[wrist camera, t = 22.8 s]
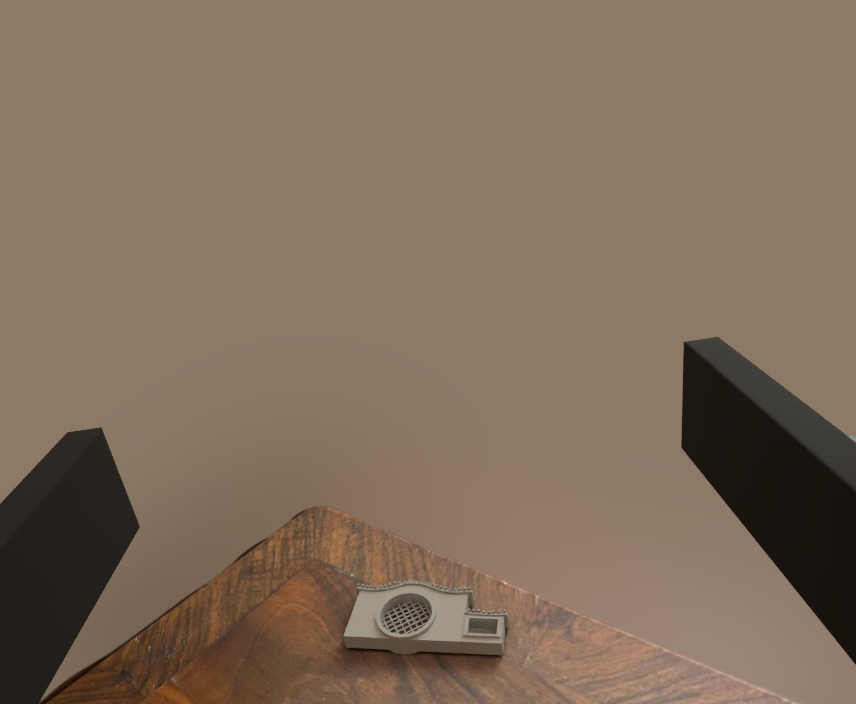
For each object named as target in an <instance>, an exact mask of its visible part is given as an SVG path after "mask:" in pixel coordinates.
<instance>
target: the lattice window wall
mask: <svg viewBox="0 0 856 704" xmlns="http://www.w3.org/2000/svg"><path fill="white" fill-rule="evenodd" d="M394 584H395V585H394V586H392V584H391V583H389V585H390V586H389V587H387V585H386V584H384V586H385V587H384V588H383V587H382V585H380V588H377V586H376V585H375V586H374V587H375V588H373V586H372V585H370V587H371V588H369V586H368V584H367V585H366V587H365V585H364V584H362V586H363V587H361V586H360V584H359V583H358V584H357V585H358V587H356V590H357V594H358V598H357V600H356V603H355V606H354V609H353V611H352V614H351V617H350V620H349V622H348V625H347V628H346V630H345V633H344V636H343V637H344V641H345V644H346V648H366V649H385V650H390V651H391V652H393V653H397V654H402V655H404V654H413V653H416V652H419V651H425V652H444V653H467V654H487V655H503V650H504V639H505V629H509V616H508V614H507V613H506V609H503V611H504V613H501V611H500V609H499V610H498V612H499V613H495V610H493V613H491V612H490V610H488V613H485V610H483V613H481V611H480V609H478V612H477V613H476V612H475V609H473V612H471V610H470V608H469V606H470V605H474V591H472V590H471V587H470V586H469V587H468V588H469V590H466V587H464V590H463V591H462V590H461V588H460V587H459V588H458V589H459V591H457V589H456V588H454V591H452V589H451V588H449V590H447V587H446V586H445V587H444V588H445V589H443V588H442V585H440V589H439V587H438V584H436V587H434V584H433V583H431V585H430V582H428V584H427V583H426V582H425V581H424V582H421V581H419V582H417V581H416V580H414V581H411V580H410V579H409V581H408V582H406V580H404V582H403V583H400V581H398V585H397V583H396V581H394ZM405 610H408V612H406V613H404V612H403V611H405ZM409 610H410V611H409ZM416 610H419V611H416ZM413 611H415V613H413V614H411V612H413ZM421 611H422V612H423V613H422V614H420V615H419V614H418V613H419V612H421ZM401 612H402V615H400V616H398V615H397V614H399V613H401ZM427 613H428V614H429V616H427V615H426V614H427ZM407 614H410V615H408V616H405V615H407ZM415 614H417V616H416V617H414V618H413V615H415ZM394 615H396V616H397V617H396V618H394V619H392V617H393V616H394ZM423 615H425V618H423V619H421V618H420V617H421V616H423ZM403 616H404V618H402V619H399V618H400V617H403ZM409 617H411V618H412V619H410V620H408V619H407V618H409ZM429 617H430V619H428V618H429ZM417 618H419V619H420V620H419V621H417V622H415V619H417ZM396 619H398V621H396V622H393V621H394V620H396ZM405 619H406V622H404V623H402V622H401V621H403V620H405ZM425 619H427V620H428V622H426V623H423V620H425ZM389 620H390V621H389ZM411 621H414V623H412V624H410V623H409V622H411ZM390 622H392V624H390V625H388V626H387V624H388V623H390ZM399 622H400V625H398V626H395V624H397V623H399ZM419 622H421V623H422V625H420V626H418V625H417V623H419ZM407 623H408V626H406V627H404V626H403V625H405V624H407ZM392 625H393V626H394V628H392V629H390V630H389V628H388V627H390V626H392ZM413 625H416V628H414V629H412V627H411V626H413ZM385 626H386V627H385ZM400 626H402V629H400V630H397V628H398V627H400ZM409 627H410V629H411V630H410V631H408V632H406V630H405V629H407V628H409ZM420 627H422V628H420ZM386 628H387V630H386ZM419 628H420V629H419ZM394 629H395V630H396V632H394V633H392V632H390V631H392V630H394ZM416 629H418V630H417V631H414V630H416ZM403 630H404V632H405V633H404V634H399V632H401V631H403ZM410 632H411V633H410Z"/></svg>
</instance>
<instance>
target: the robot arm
mask: <svg viewBox="0 0 856 704" xmlns="http://www.w3.org/2000/svg"><path fill="white" fill-rule="evenodd" d="M683 362H684V363H683V404H682V405H683V406H682V449H683V450H684V451H685V453H686V454H687V455H688V456H689V458H690V459H691V460H692V461H693V462H694V464H695V465H696V466H697V468H698V469H699V470H700V471H701V473H702V474H703V475H704V476H705V478H706V479H707V480H708V481H709V483H710V484H711V485H712V486H713V488H714V489H715V490H716V491H717V493H718V494H719V495H720V496H721V498H722V499H723V500H724V501H725V503H726V504H727V505H728V506H729V507H730V509H731V510H732V511H733V512H734V514H735V515H736V516H737V517H738V519H739V520H740V521H741V522H742V524H743V525H744V526H745V527H746V529H747V530H748V531H749V532H750V534H751V535H752V536H753V537H754V539H755V540H756V541H757V542H758V544H759V545H760V546H761V547H762V549H763V550H764V551H765V552H766V554H767V555H768V556H769V557H770V558H771V560H772V561H773V562H774V563H775V565H776V566H777V567H778V568H779V570H780V571H781V572H782V573H783V574H784V576H785V577H786V578H787V580H788V581H789V582H790V583H791V584H792V586H793V587H794V588H795V589H796V591H797V592H798V593H799V595H800V596H801V597H802V598H803V599H804V601H805V602H806V603H807V604H808V606H809V607H810V608H811V609H812V611H813V612H814V613H815V614H816V616H817V617H818V618H819V619H820V621H821V622H822V623H823V624H824V626H825V627H826V628H827V629H828V631H829V632H830V633H831V634H832V635H833V637H834V638H835V639H836V641H837V642H838V643H839V644H840V646H841V647H842V648H843V649H844V651H845V652H846V653H847V654H848V655H849V657H850V658H851V659H852V661H853V662H854V663H855V664H856V435H850V436H847V435H845V434H844V433H843V432H841V431H840V430H839V429H838V428H836V427H835V426H833V425H832V424H831V423H830V422H828V421H827V420H826V419H824V418H823V417H822V416H821V415H819V414H818V413H817V412H815V411H814V410H813V409H811V408H810V407H809V406H808V405H806V404H805V403H803V402H802V401H801V400H800V399H798V398H797V397H796V396H794V395H793V394H792V393H791V392H789V391H788V390H787V389H785V388H784V387H783V386H781V385H780V384H779V383H777V382H776V381H775V380H773V379H772V378H771V377H769V376H768V375H767V374H766V373H764V372H763V371H762V370H760V369H759V368H758V367H757V366H755V365H754V364H752V363H751V362H750V361H749V360H747V359H746V358H745V357H743V356H742V355H741V354H740V353H738V352H737V351H736V350H734V349H733V348H732V347H730V346H729V345H728V344H726V343H725V342H724V341H723V340H721V339H720V338H719V337H715V338H708V339H701V340H694V341H688V342H684V359H683ZM139 527H140V526H139V524H138V521H137V518H136V516H135V513H134V511H133V508H132V505H131V503H130V500H129V498H128V495H127V493H126V490H125V487H124V485H123V482H122V480H121V477H120V474H119V472H118V470H117V467H116V464H115V462H114V459H113V456H112V454H111V451H110V449H109V446H108V443H107V441H106V439H105V436H104V433H103V430H102V428H95V429H87V430H81V431H74V432H67V434H66V435H65V436H64V437H63V438H62V439H61V440H60V441H59V442H58V443H57V444H56V445H55V446H54V447H53V448H52V449H51V450H50V452H49V453H48V454H47V455H46V456H45V457H44V458H43V459H42V460H41V461H40V462H39V463H38V464H37V465H36V466H35V468H34V469H33V470H32V471H31V472H30V473H29V474H28V475H27V476H26V477H25V478H24V479H23V480H22V481H21V483H19V485H18V486H17V487H16V488H15V489H14V490H13V491H12V492H11V493H10V494H9V495H8V496H7V497H6V499H4V500H3V502H2V503H1V504H0V704H38V703H39V702H40V700H41V698H42V696H43V694H44V693H45V691H46V690H47V688H48V686H49V684H50V682H51V681H52V679H53V677H54V676H55V674H56V672H57V670H58V669H59V667H60V665H61V663H62V662H63V660H64V658H65V656H66V655H67V653H68V651H69V649H70V648H71V646H72V644H73V642H74V641H75V639H76V637H77V635H78V633H79V632H80V630H81V628H82V627H83V625H84V623H85V621H86V620H87V618H88V616H89V614H90V612H91V611H92V609H93V608H94V606H95V604H96V602H97V601H98V599H99V597H100V595H101V594H102V592H103V590H104V588H105V587H106V585H107V583H108V581H109V580H110V578H111V576H112V574H113V573H114V571H115V569H116V567H117V566H118V564H119V562H120V560H121V559H122V557H123V555H124V554H125V552H126V550H127V548H128V547H129V545H130V543H131V541H132V540H133V538H134V536H135V534H136V533H137V531H138V529H139Z"/></svg>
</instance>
